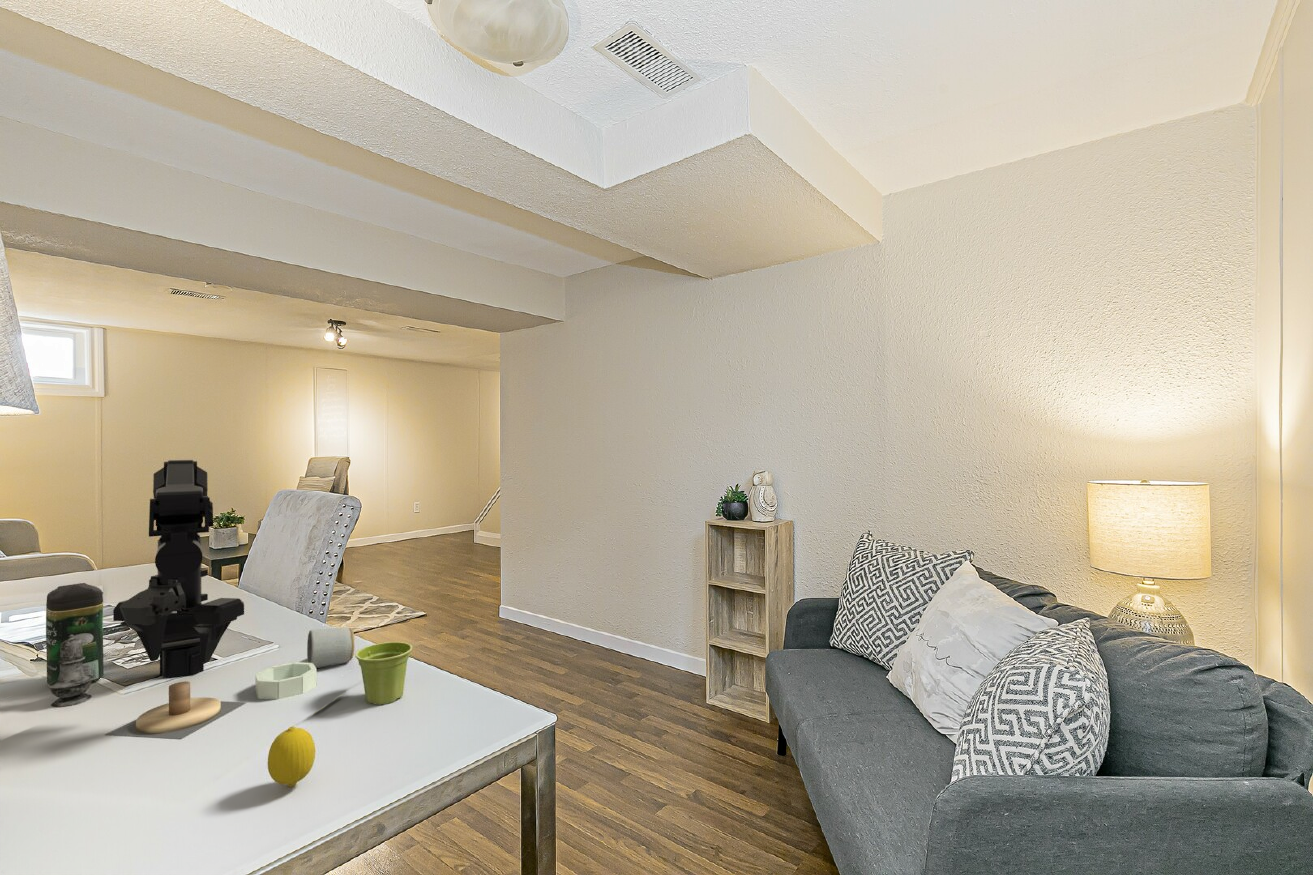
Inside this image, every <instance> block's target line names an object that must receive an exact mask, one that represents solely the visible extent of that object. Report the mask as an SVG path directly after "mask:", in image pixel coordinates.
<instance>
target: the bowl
mask: <svg viewBox="0 0 1313 875" xmlns="http://www.w3.org/2000/svg"><path fill="white" fill-rule="evenodd" d="M254 678H255V694H256V696H257V699H260V700H261V699H262V700H282V699H286V698H289V697H295V696H299V695H303V694H305V693H306V692H308V691H310V690H312V689H313V688H315V687H316V686H317V668H316V667H315V666H314V664H313V663H308V662H300V661H299V662H298V661H297V662H296V661H295V662H288V663H284V664H278V665H273V666H270V667H268V668H266V669H264V670H262V671H260V672H257V673H256V674H255V677H254Z"/></svg>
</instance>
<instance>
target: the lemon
mask: <svg viewBox="0 0 1313 875" xmlns="http://www.w3.org/2000/svg"><path fill="white" fill-rule="evenodd" d="M314 741H315V740H314V739H313V737H312V734H311V733H310V732H309V731H307V730H306V729H304V728H301V727H296V726H290V727H289V726H288V728H287V729H285V730H284V731H282V732H280V733H279V734H278V735H277V736H276V737H275V738H274V740H273V742H272V743H271V745H270V747H269V751H268V756H267V769H268V773H269V776H270V777H271V779H272V780H273V781H274V782H275V783H278V784H279V785H283V786H288V787H289V788H292V787H294V786H296V785H297V783H299V782H300V781H302V780H303V779H305V777H307V775H309V773H310V771H311V769H312V768H313V766H314V762H315V759H316V746H315V742H314Z"/></svg>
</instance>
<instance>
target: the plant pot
mask: <svg viewBox="0 0 1313 875" xmlns="http://www.w3.org/2000/svg"><path fill="white" fill-rule="evenodd" d="M412 650H413V645H412V644H410V643H408V642H405V641H387V642H380V643H375V644H371V645H367V646H365V647H362V648H360V649H359V650H358V651H357V652H356V653H354V655H355V657H354V658H356V660H357V661H358V665H359V667H360V669H361V675H362V676H361V677H362V683H363V688H364V696H365V700H366V703H368V704H371V703H372V704H375V705H379V706H380V705H384V704H391V703H393V702H395V701H396V700H397V699H401V698H402V697H403V696H404V690H405V681H406V674H407V673H406V672H407V666H408V660H409V658H410V653H411V652H412Z"/></svg>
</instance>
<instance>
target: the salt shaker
mask: <svg viewBox="0 0 1313 875" xmlns="http://www.w3.org/2000/svg"><path fill="white" fill-rule="evenodd" d="M69 637H70V639H68V640H66V641H64V642H63V643H62V644H61V646H60V660H59V661H58V662H57V663H58V664H60V674H59V677H58V679H57V680H56V681H54V682H52V683H50V684H49V685H48V688H50V691H51V693H52V695H53V696H54V697H56V698H57V699H55V700H54V701H52V702H51V703H50V707H52V708H67V707H72V706H77V705H79V704H82V703H83V704H84V703H85V702H87V701H89V700H90V699H92V695H91V694H90V693H86V692H87V690H88V689H89V688H90V686H91V684H92V683H91V680H92V679H93V678H94V677H93V676H92V675H86V674H84V671H83V659H85V656H82V641H81V640H80V639H75V638H73V635H72V634H71V635H70V636H69Z"/></svg>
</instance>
